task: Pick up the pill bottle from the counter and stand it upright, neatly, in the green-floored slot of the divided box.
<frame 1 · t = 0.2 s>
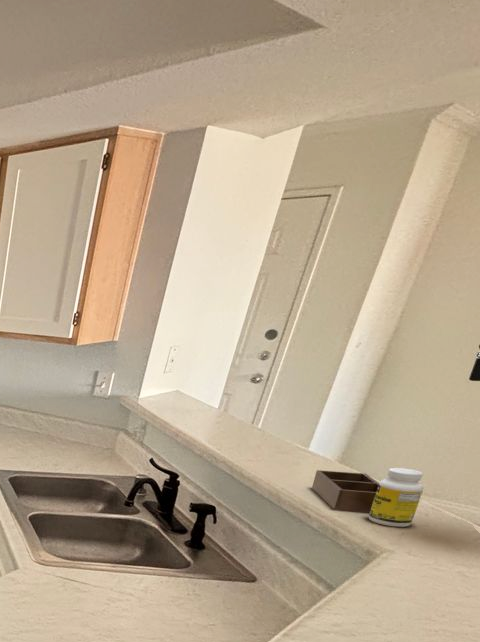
divided box: (347, 500, 133), on the counter
pill bottle: (388, 523, 121), on the counter
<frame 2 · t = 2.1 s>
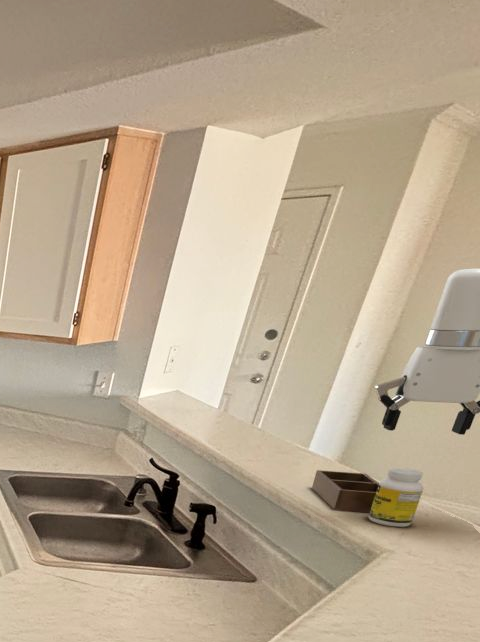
hand: (422, 431, 114), 19 cm above the counter, tool pointing down, fingers open, 9 cm apart
nothing on the counter moved.
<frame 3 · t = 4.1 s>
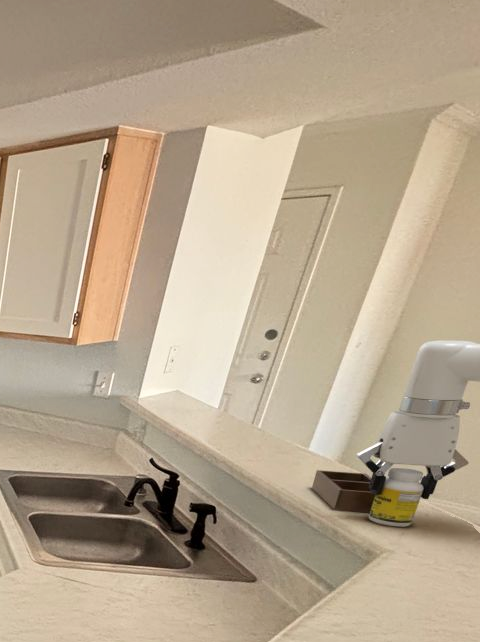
hand: (398, 494, 119), 6 cm above the counter, tool pointing down, fingers closed on pill bottle, 6 cm apart
pill bottle: (388, 523, 121), on the counter, touching gripper
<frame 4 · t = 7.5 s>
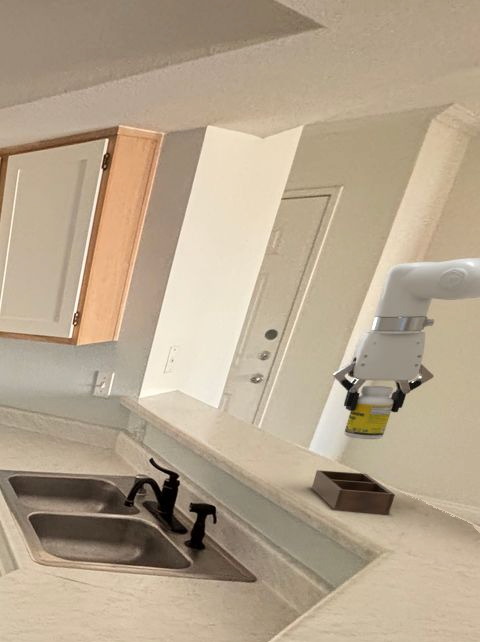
hand: (371, 409, 129), 20 cm above the counter, tool pointing down, fingers closed on pill bottle, 6 cm apart
pill bottle: (362, 437, 131), point 14 cm above the counter, touching gripper
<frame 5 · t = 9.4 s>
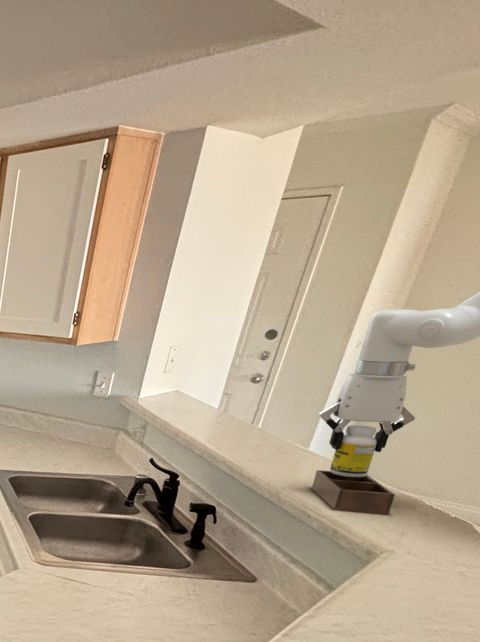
hand: (355, 448, 133), 11 cm above the counter, tool pointing down, fingers closed on pill bottle, 6 cm apart
pill bottle: (347, 475, 135), point 5 cm above the counter, touching gripper
when the fingers open (7 cm above the counter, at t = 10.9 s): pill bottle stays where it is, resting on divided box.
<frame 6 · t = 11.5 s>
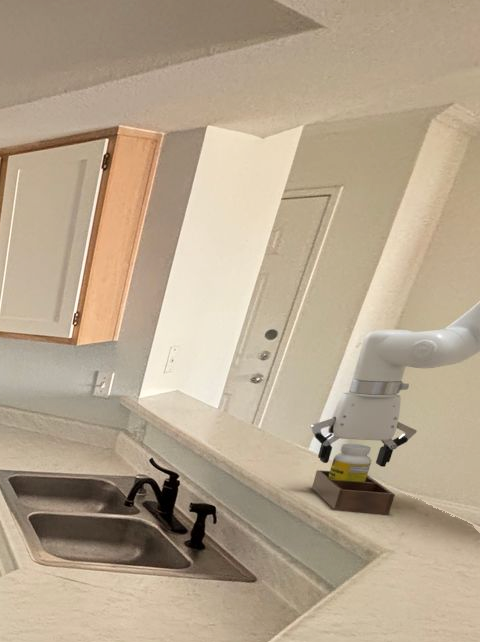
hand: (351, 463, 134), 8 cm above the counter, tool pointing down, fingers open, 9 cm apart
pill bottle: (342, 492, 137), point 1 cm above the counter, touching divided box
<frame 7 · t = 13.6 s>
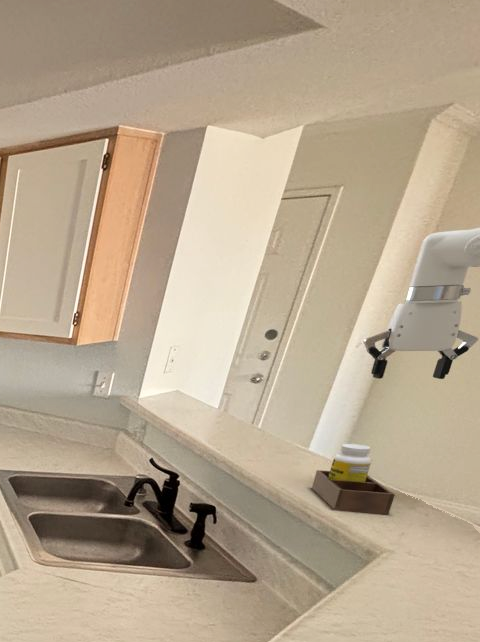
hand: (407, 378, 128), 27 cm above the counter, tool pointing down, fingers open, 9 cm apart
nothing on the counter moved.
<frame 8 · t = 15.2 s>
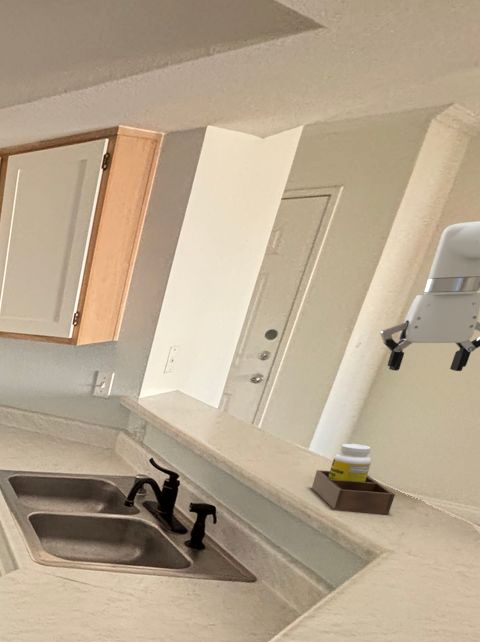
hand: (424, 370, 128), 28 cm above the counter, tool pointing down, fingers open, 9 cm apart
nothing on the counter moved.
at the end: pill bottle 0.0 cm from the target spot in the divided box, point 0.6 cm above the divided box's base; pill bottle tilted 0°; the gripper is holding nothing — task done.
